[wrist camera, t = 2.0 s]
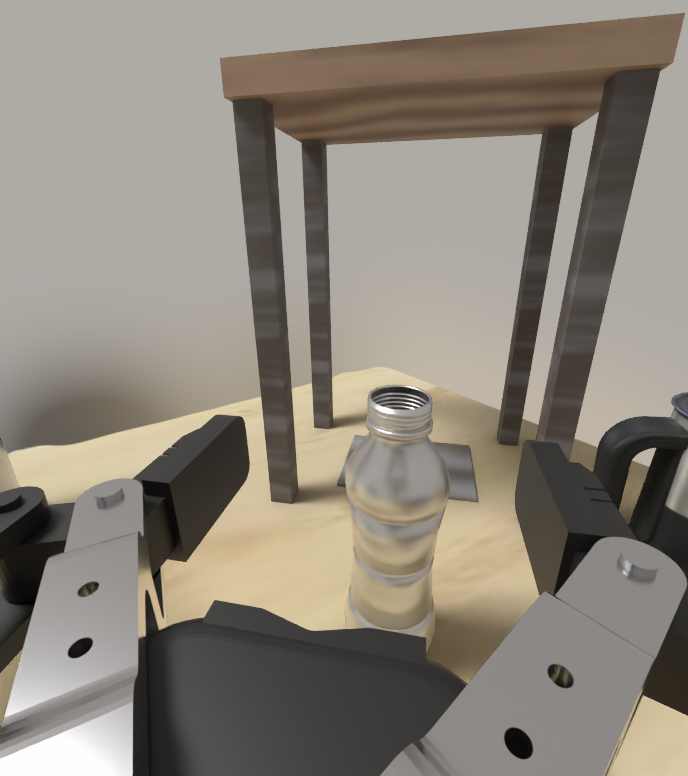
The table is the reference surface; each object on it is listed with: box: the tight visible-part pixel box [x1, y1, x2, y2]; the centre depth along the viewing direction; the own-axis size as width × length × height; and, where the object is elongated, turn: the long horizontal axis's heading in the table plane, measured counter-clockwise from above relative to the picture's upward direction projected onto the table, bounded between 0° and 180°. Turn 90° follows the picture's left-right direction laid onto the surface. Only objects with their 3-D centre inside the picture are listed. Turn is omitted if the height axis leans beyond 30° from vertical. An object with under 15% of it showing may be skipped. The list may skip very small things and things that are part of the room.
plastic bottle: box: [345, 385, 451, 653], centre depth 27 cm, size 6×7×20 cm
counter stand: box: [220, 13, 685, 504], centre depth 45 cm, size 22×30×40 cm
